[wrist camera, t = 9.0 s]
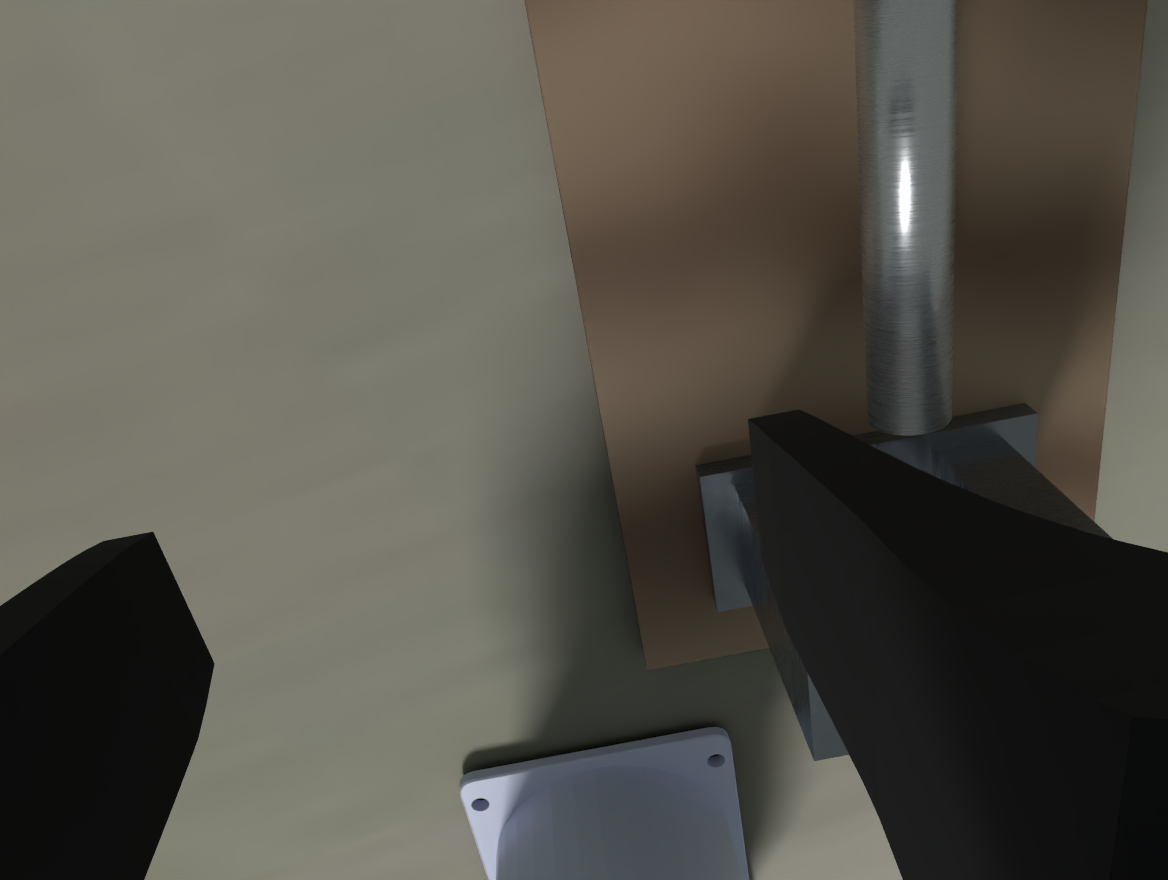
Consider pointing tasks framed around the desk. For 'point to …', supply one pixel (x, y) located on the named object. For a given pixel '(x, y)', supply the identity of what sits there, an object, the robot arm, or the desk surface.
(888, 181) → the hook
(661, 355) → the board
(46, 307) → the desk surface
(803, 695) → the slotted metal block
